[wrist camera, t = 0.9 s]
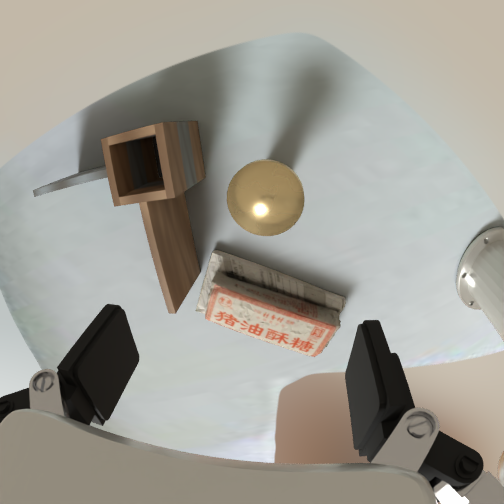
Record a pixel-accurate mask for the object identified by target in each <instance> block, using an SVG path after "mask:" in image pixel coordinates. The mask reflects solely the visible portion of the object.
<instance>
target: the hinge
mask: <svg viewBox="0 0 504 504" xmlns="http://www.w3.org/2000/svg"><path fill="white" fill-rule="evenodd" d="M155 136H156V140H157V146H158V152H159V158H160V164H161V170H162V175H163V177H160V178H159V173H158V168H157V162H156V156H155V150H154V144H153V138H152V137H155ZM101 143H102V149H103V155H104V160H105V165H106V166H102V167H98V168H95V169H91V170H87V171H84V172H80V173H77V174H74V175H71V176H69V177H66V178H63V179H61V180H58V181H55V182H53V183H50V184H48V185H45V186H43V187H40V188H38V189H35V190H33V193H34V197H36V196H39V195H42V194H46V193H49V192H53V191H56V190H60V189H63V188H67V187H71V186H74V185H78V184H82V183H86V182H90V181H94V180H98V179H102V178H107V177H108V180H109V185H110V190H111V194H112V199H113V203H114V206H121V205H127V204H134V203H139V205H140V209H141V214H142V218H143V222H144V226H145V230H146V234H147V238H148V242H149V246H150V250H151V254H152V258H153V261H154V265H155V269H156V272H157V276H158V279H159V283H160V286H161V289H162V293H163V296H164V299H165V303H166V306H167V309H168V312H169V313H175V314H176V312H177V310H178V309H179V307H180V305H181V304H182V302H183V300H184V299H185V297H186V295H187V294H188V292H189V290H190V289H191V287H192V286H193V284H194V282H195V281H196V279H197V277H198V276H199V274H200V268H199V264H198V259H197V254H196V250H195V245H194V240H193V235H192V230H191V225H190V220H189V215H188V209H187V204H186V198H185V193H184V192H185V191H186V190H188V189H189V188H191V187H192V186H194V185H195V184H197V183H198V182H200V181H201V180H203V179H204V178H206V176H205V170H204V163H203V157H202V150H201V143H200V136H199V129H198V122H197V121H180V122H162V123H158V124H154V125H150V126H146V127H142V128H138V129H134V130H131V131H127V132H123V133H120V134H117V135H113V136H110V137H107V138H104V139H101Z"/></svg>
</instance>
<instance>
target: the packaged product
mask: <svg viewBox="0 0 504 504" xmlns="http://www.w3.org/2000/svg"><path fill="white" fill-rule="evenodd" d="M345 304H346V300H345V297H343V296H340V295H337V294H334V293H331V292H329V291H326V290H323V289H321V288H318V287H316V286H314V285H311V284H309V283H307V282H304V281H301V280H299V279H296V278H294V277H291V276H288V275H286V274H283V273H281V272H278V271H276V270H273V269H270V268H268V267H265V266H262V265H260V264H257V263H254V262H251V261H248V260H245V259H242V258H239V257H237V256H234V255H231V254H228V253H225V252H222V251H219V250H214V251H213V252H212V254H211V258H210V261H209V264H208V268H207V272H206V275H205V278H204V281H203V285H202V289H201V293H200V296H199V300H198V304H197V308H196V311H197V312H201V313H204V314H205V317H206V318H205V319H207V320H209V321H212V322H214V323H216V324H219V325H221V326H224V327H227V328H229V329H232V330H235V331H237V332H240V333H243V334H246V335H249V336H252V337H255V338H257V339H260V340H263V341H266V342H269V343H272V344H275V345H278V346H281V347H283V348H287V349H290V350H293V351H296V352H299V353H302V354H305V355H308V356H313V357H315V356H316V355H318V354H320V353H322V351H323V349H324V348H325V347H327V345H328V343H329V341H330V340H331V339H332V337H333V336H334V335H335V333H336V331H337V330H338V329H339V328H340V322H341V321H340V320H339V315H340V313H341V311H342V310H343V308H344V307H345Z"/></svg>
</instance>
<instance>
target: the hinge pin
mask: <svg viewBox="0 0 504 504" xmlns="http://www.w3.org/2000/svg"><path fill="white" fill-rule="evenodd" d="M227 204H228V208H229V211H230V213H231V215H232V217H233V219H234V220H235V221H236V222H237V224H238V225H240V226H241V227H242V228H243V229H245V230H246V231H248V232H250V233H253V234H256V235H261V236H273V235H278V234H281V233H283V232H285V231H287V230H288V229H290V228H291V227H292V226H293V225H294V224H295V223H296V222H297V221H298V219H299V218H300V216H301V213H302V211H303V207H304V191H303V187H302V183H301V181H300V179H299V177H298V176H297V175H296V173H295V172H294V171H293V170H292V169H291V168H290V167H288V166H287V165H285V164H283V163H281V162H278V161H275V160H268V159H264V160H257V161H254V162H251V163H249V164H247V165H246V166H244V167H243V168H242V169H241V170H239V171H238V172H237V173H236V174H235V175H234V177H233V178H232V180H231V182H230V184H229V187H228V191H227Z"/></svg>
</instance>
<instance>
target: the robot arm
mask: <svg viewBox="0 0 504 504" xmlns="http://www.w3.org/2000/svg"><path fill="white" fill-rule="evenodd" d="M456 286H457V292H458V295H459V297H460V298H461V300H462V301H463V302H464V304H465V305H466V306H468V307H469V308H472V309H477V310H481V309H482V311H483V312H484V313H485V315H486V316H487V318H488V319H489V320H490V322H491V323H492V325H493V326H494V328H495V329H496V331H497V332H498V334H499V335H500V337H501V338H502V340H503V341H504V228H503V227H495V228H492V229H489V230H487V231H485V232H483V233H482V234H481V235H479V236H478V237H477V238H476V239H475V240H474V241H473V242H472V243H471V244H470V246H469V247H468V249H467V250H466V252H465V254H464V255H463V257H462V259H461V262H460V264H459V267H458V272H457V278H456ZM138 362H139V353H138V351H137V348H136V345H135V342H134V339H133V336H132V333H131V330H130V327H129V324H128V320H127V317H126V314H125V311H124V310H123V309H122V308H121V307H120V306H119V305H112V304H107V305H105V307H104V308H103V309H102V310H101V311H100V313H99V314H98V315H97V316H96V318H95V319H94V320H93V321H92V323H91V324H90V325H89V326H88V328H87V329H86V330H85V331H84V333H83V334H82V335H81V336H80V338H79V339H78V340H77V342H76V343H75V344H74V345H73V347H72V348H71V349H70V351H69V352H68V353H67V355H66V356H65V357H64V359H63V360H62V361H61V363H60V364H59V366H58V367H57V368H58V370H59V371H58V372H57V373H56V372H55V371H53V370H51V369H44V370H41V371H38V372H37V373H36V374H34V376H33V377H32V378H31V380H30V384H29V388H27V389H23V390H21V391H18V392H15V393H12V394H9V395H5V396H3V397H1V398H0V504H437V502H441V503H442V504H504V451H503V453H502V455H501V457H500V459H499V463H498V468H497V476H498V480H497V479H496V478H495V477H494V476H493V475H492V474H491V473H490V472H489V471H488V472H485V471H484V470H483V460H482V457H481V456H480V454H479V453H478V452H476V451H475V450H473V449H471V448H470V447H468V446H466V445H464V444H462V443H460V442H458V441H457V440H455V439H453V438H451V437H450V436H448V435H446V434H444V433H443V432H441V431H439V428H440V427H439V426H440V425H439V420H438V418H437V416H436V415H435V414H434V413H433V412H431V411H430V410H428V409H425V408H415V406H414V403H413V399H412V396H411V393H410V390H409V386H408V383H407V380H406V377H405V374H404V371H403V368H402V365H401V362H400V359H399V357H398V355H397V354H396V353H391V352H390V350H389V347H388V344H387V341H386V338H385V335H384V332H383V330H382V327H381V324H380V322H379V320H365V321H364V322H363V324H359V325H358V328H357V332H356V336H355V340H354V344H353V348H352V351H351V355H350V359H349V362H348V366H347V369H346V374H345V379H346V387H347V394H348V401H349V409H350V417H351V425H352V434H353V443H354V449H355V450H358V449H359V456H367V460H368V461H369V462H370V463H350V464H349V463H346V464H344V463H343V464H283V463H282V464H281V463H263V462H251V461H240V460H232V459H224V458H216V457H210V456H203V455H197V454H192V453H187V452H181V451H177V450H172V449H167V448H163V447H159V446H155V445H151V444H147V443H143V442H139V441H136V440H132V439H129V438H125V437H122V436H119V435H116V434H112V433H109V432H106V431H103V430H101V429H98V428H95V427H92V426H90V423H91V421H92V422H93V423H96V424H99V425H102V426H103V425H104V423H105V421H106V420H108V419H109V418H110V416H111V414H112V413H113V411H114V409H115V407H116V405H117V403H118V401H119V399H120V397H121V395H122V393H123V391H124V389H125V387H126V385H127V383H128V381H129V379H130V378H131V376H132V374H133V372H134V370H135V368H136V366H137V364H138Z"/></svg>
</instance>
